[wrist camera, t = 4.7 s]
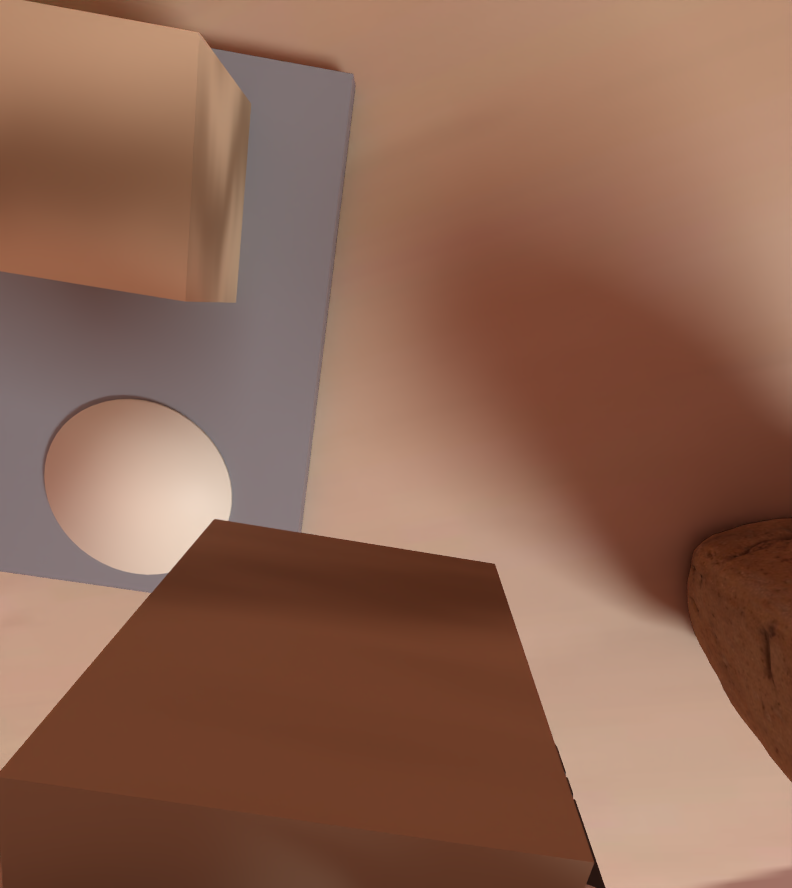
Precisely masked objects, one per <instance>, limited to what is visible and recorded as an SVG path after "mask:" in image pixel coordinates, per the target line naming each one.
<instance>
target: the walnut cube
mask: <svg viewBox="0 0 792 888" xmlns="http://www.w3.org/2000/svg"><path fill="white" fill-rule="evenodd" d="M0 852H1V868H2V883H3V888H585V886H586V883H587V881H588V878H589V875H590V873H591V870H592V868H593V865H594V860H593V857H592V854H591V851H590V848H589V845H588V842H587V839H586V836H585V833H584V830H583V827H582V824H581V821H580V818H579V815H578V812H577V809H576V806H575V803H574V800H573V797H572V794H571V791H570V788H569V785H568V782H567V779H566V776H565V773H564V770H563V767H562V764H561V761H560V758H559V755H558V752H557V749H556V746H555V743H554V740H553V737H552V734H551V731H550V728H549V725H548V722H547V719H546V716H545V713H544V710H543V707H542V704H541V701H540V698H539V695H538V692H537V689H536V686H535V683H534V680H533V677H532V674H531V671H530V668H529V665H528V662H527V659H526V656H525V653H524V650H523V647H522V644H521V641H520V638H519V635H518V632H517V629H516V626H515V623H514V620H513V617H512V614H511V611H510V608H509V605H508V602H507V599H506V596H505V593H504V590H503V587H502V584H501V581H500V578H499V575H498V572H497V569H496V566H495V564H492V563H486V562H480V561H473V560H467V559H461V558H455V557H449V556H442V555H436V554H430V553H424V552H417V551H411V550H405V549H399V548H393V547H386V546H380V545H374V544H368V543H362V542H355V541H349V540H343V539H337V538H331V537H324V536H318V535H312V534H306V533H299V532H293V531H287V530H281V529H275V528H268V527H262V526H256V525H250V524H244V523H237V522H231V521H225V520H219V519H214V520H213V521H212V522H211V523H210V525H209V526H208V527H207V528H206V529H205V530H204V532H203V533H202V534H201V535H200V536H199V538H198V539H197V540H196V541H195V542H194V543H193V545H192V546H191V547H190V548H189V549H188V551H187V552H186V553H185V554H184V555H183V556H182V558H181V559H180V560H179V561H178V562H177V563H176V565H175V566H174V567H173V568H172V569H171V571H170V572H169V573H168V574H167V575H166V576H165V578H164V579H163V580H162V581H161V582H160V583H159V585H158V586H157V587H156V588H155V589H154V591H153V592H152V593H151V594H150V595H149V596H148V598H147V599H146V600H145V601H144V602H143V604H142V605H141V606H140V607H139V608H138V609H137V611H136V612H135V613H134V614H133V615H132V616H131V618H130V619H129V620H128V621H127V622H126V624H125V625H124V626H123V627H122V628H121V629H120V631H119V632H118V633H117V634H116V635H115V637H114V638H113V639H112V640H111V641H110V642H109V644H108V645H107V646H106V647H105V648H104V649H103V651H102V652H101V653H100V654H99V655H98V657H97V658H96V659H95V660H94V661H93V662H92V664H91V665H90V666H89V667H88V668H87V670H86V671H85V672H84V673H83V674H82V675H81V677H80V678H79V679H78V680H77V681H76V682H75V684H74V685H73V686H72V687H71V688H70V690H69V691H68V692H67V693H66V694H65V695H64V697H63V698H62V699H61V700H60V701H59V703H58V704H57V705H56V706H55V707H54V708H53V710H52V711H51V712H50V713H49V714H48V715H47V717H46V718H45V719H44V720H43V721H42V723H41V724H40V725H39V726H38V727H37V728H36V730H35V731H34V732H33V733H32V734H31V735H30V737H29V738H28V739H27V740H26V741H25V743H24V744H23V745H22V746H21V747H20V748H19V750H18V751H17V752H16V753H15V754H14V756H13V757H12V758H11V759H10V760H9V761H8V763H7V764H6V765H5V766H4V767H3V768H2V770H1V771H0Z"/></svg>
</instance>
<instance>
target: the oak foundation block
mask: <svg viewBox="0 0 792 888" xmlns="http://www.w3.org/2000/svg"><path fill="white" fill-rule="evenodd" d="M250 114H251V103H250V101H249V100H248V99H247V97H246V96H245V95H244V93H243V92H242V90H241V89H240V88H239V86H238V85H237V84H236V82H235V81H234V79H233V78H232V77H231V75H230V74H229V73H228V71H227V70H226V68H225V67H224V66H223V64H222V63H221V62H220V60H219V59H218V57H217V56H216V55H215V53H214V52H213V51H212V49H211V48H210V46H209V45H208V44H207V42H206V41H205V40H204V38H203V37H202V35H201V34H200V33H199V32H194V31H189V30H183V29H178V28H173V27H167V26H162V25H156V24H151V23H145V22H140V21H134V20H129V19H123V18H118V17H112V16H107V15H101V14H96V13H91V12H85V11H80V10H74V9H69V8H63V7H58V6H52V5H47V4H41V3H36V2H30V1H25V0H0V271H2V272H8V273H14V274H20V275H26V276H32V277H38V278H44V279H50V280H57V281H63V282H69V283H75V284H81V285H87V286H93V287H99V288H105V289H111V290H118V291H124V292H130V293H136V294H142V295H148V296H154V297H160V298H166V299H173V300H179V301H185V302H225V303H236V296H237V283H238V270H239V257H240V244H241V231H242V218H243V205H244V192H245V179H246V166H247V153H248V140H249V127H250Z"/></svg>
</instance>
